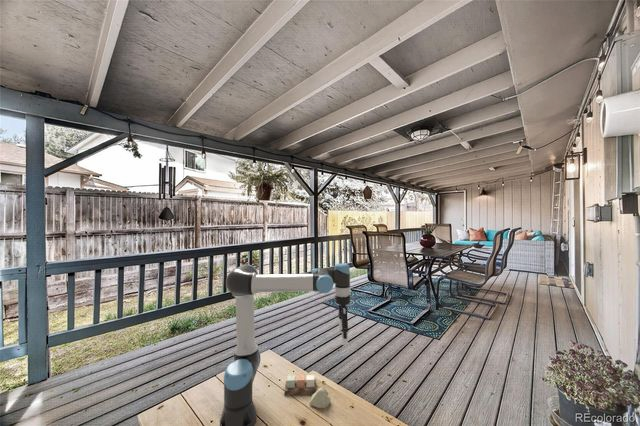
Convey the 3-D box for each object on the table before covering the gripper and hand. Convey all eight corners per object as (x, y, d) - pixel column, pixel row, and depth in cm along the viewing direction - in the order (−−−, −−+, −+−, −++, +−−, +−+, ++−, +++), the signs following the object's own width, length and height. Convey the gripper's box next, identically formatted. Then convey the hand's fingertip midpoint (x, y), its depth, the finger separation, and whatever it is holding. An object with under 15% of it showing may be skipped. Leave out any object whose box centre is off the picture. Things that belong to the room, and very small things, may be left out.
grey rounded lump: (335, 401, 113) (322, 398, 110) (324, 414, 114) (311, 411, 110) (329, 384, 120) (317, 381, 117) (319, 396, 121) (306, 394, 118)
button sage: (286, 387, 123) (286, 380, 123) (287, 382, 127) (287, 375, 127) (294, 387, 123) (294, 380, 123) (295, 382, 127) (295, 375, 127)
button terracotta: (296, 387, 123) (296, 380, 123) (297, 382, 127) (297, 375, 127) (304, 387, 123) (304, 380, 123) (304, 382, 127) (304, 375, 127)
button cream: (306, 387, 123) (306, 379, 123) (306, 382, 127) (306, 375, 127) (314, 386, 123) (314, 379, 123) (314, 381, 127) (314, 374, 127)
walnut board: (284, 395, 121) (284, 390, 121) (286, 384, 129) (286, 380, 129) (316, 393, 121) (316, 389, 121) (316, 383, 129) (316, 379, 129)
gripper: (354, 303, 110) (354, 350, 109) (346, 288, 135) (347, 327, 134) (337, 303, 110) (338, 351, 109) (333, 288, 135) (333, 327, 134)
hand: (343, 337), depth 121 cm, fingers open, 13 cm apart
